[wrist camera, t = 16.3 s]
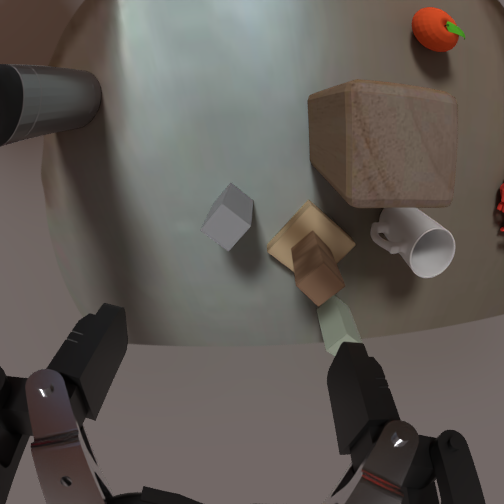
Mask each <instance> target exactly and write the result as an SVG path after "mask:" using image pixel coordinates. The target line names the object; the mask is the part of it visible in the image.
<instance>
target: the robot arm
mask: <svg viewBox="0 0 504 504" xmlns="http://www.w3.org/2000/svg"><path fill="white" fill-rule="evenodd" d="M100 101H101V88H100V85H99V82H98V80H97V79H96V77H95V76H94V75H93V74H92V73H90V72H87V71H82V70H75V69H68V68H59V67H48V66H35V65H10V64H9V65H8V64H7V65H6V64H0V146H4V145H7V144H11V143H14V142H18V141H22V140H25V139H29V138H34V137H38V136H42V135H46V134H51V133H56V132H60V131H66V130H71V129H76V128H80V127H82V126H84V125H86V124H87V123H89V122H90V121H91V120H92V118H93V117H94V116H95V114H96V112H97V110H98V108H99V105H100ZM127 344H128V336H127V327H126V316H125V309H124V308H123V307H119V306H115V305H111V304H107V303H104V304H103V305H102V306H101V308H100V309H99V310H98V312H97V313H96V315H94V314H88V315H87V316H85V317H84V318H82V319H81V320H79V321H78V323H77V324H76V326H75V327H74V328H73V330H72V332H71V333H70V334H69V336H68V337H67V340H65V341H64V343H63V344H62V346H61V347H60V349H59V351H58V352H57V353H56V355H55V356H54V358H53V359H52V361H51V363H50V364H49V366H48V367H47V368H46V369H41V370H38V371H36V372H34V373H32V374H31V375H30V376H29V378H19V377H11V376H6V374H5V372H4V370H3V369H2V368H1V367H0V504H5V503H6V500H7V497H8V494H9V491H10V488H11V485H12V482H13V479H14V476H15V473H16V470H17V468H18V465H19V462H20V459H21V457H22V454H23V451H24V449H25V447H26V444H27V442H28V439H29V437H30V436H34V442H33V443H31V452H32V457H33V460H34V464H35V468H36V472H37V475H38V479H39V482H40V485H41V488H42V491H43V494H44V497H45V500H46V503H47V504H203V503H200V502H197V501H195V500H192V499H190V498H187V497H185V496H182V495H180V494H176V493H171V492H166V491H162V490H157V489H153V488H149V487H145V486H144V487H143V490H142V493H138V492H137V493H125V494H120V495H116V496H114V495H113V492H112V490H111V488H110V487H109V484H108V482H107V481H106V479H105V477H104V475H103V473H102V471H101V469H100V466H99V464H98V462H97V459H96V457H95V454H94V452H93V449H92V447H91V444H90V441H89V438H88V436H87V433H86V430H85V427H84V425H83V422H84V420H85V418H89V419H92V420H96V418H97V416H98V413H99V411H100V409H101V406H102V404H103V402H104V399H105V397H106V395H107V393H108V390H109V388H110V386H111V383H112V381H113V379H114V377H115V374H116V372H117V370H118V368H119V366H120V364H121V362H122V359H123V357H124V355H125V353H126V350H127ZM327 385H328V391H329V396H330V401H331V407H332V412H333V418H334V423H335V429H336V435H337V441H338V447H339V452H340V455H345V454H351V460H352V462H351V464H350V465H349V467H348V468H347V470H346V471H345V473H344V475H343V476H342V477H341V479H340V480H339V482H338V483H337V485H336V486H335V488H334V489H333V490H332V492H331V493H330V495H329V496H328V497H327V499H326V500H325V501H324V502H323V503H322V504H439V500H438V496H437V490H436V486H435V482H434V481H435V480H436V479H437V483H438V487H439V492H440V496H441V504H485V500H484V496H483V492H482V489H481V485H480V482H479V478H478V475H477V472H476V469H475V466H474V462H473V459H472V456H471V453H470V450H469V447H468V444H467V442H466V440H465V438H464V437H463V436H462V435H461V434H460V433H459V432H457V431H454V430H446V431H444V432H442V433H441V435H439V437H437V438H434V437H428V436H423V435H418V433H417V431H416V430H415V428H414V427H413V426H412V425H411V424H409V423H407V422H405V421H401V420H400V417H399V414H398V412H397V409H396V406H395V403H394V400H393V397H392V394H391V391H390V389H389V388H388V383H387V380H385V375H384V373H383V370H382V367H381V366H380V364H379V363H378V362H377V361H376V360H375V359H374V357H368V354H367V351H366V349H365V346H364V344H363V343H356V342H342V343H341V345H340V347H339V349H338V351H337V354H336V356H335V358H334V360H333V362H332V364H331V366H330V368H329V371H328V376H327Z"/></svg>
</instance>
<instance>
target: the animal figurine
mask: <svg viewBox="0 0 504 504" xmlns="http://www.w3.org/2000/svg"><path fill="white" fill-rule="evenodd" d="M500 193H501V202H500V203H499V204H498V207H497V209H498V210H500V211H502V212H503V213H504V183H503V184H502V185H501V187H500ZM500 230H501V231H504V227H502V228H501V229H500Z"/></svg>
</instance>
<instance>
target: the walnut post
mask: <svg viewBox="0 0 504 504" xmlns="http://www.w3.org/2000/svg"><path fill="white" fill-rule="evenodd" d="M291 252H292V259H293V267H294V274H295V282H296V286H297V287H298V288H299V289H300V290H301V291H302V292H303V293H304V294H306V295H307V296H308V297H309V298H310V299H311V300H312V301H313V302H314V303H315V304H316V305H317V306H318V307H319V306H320V305H321V304H323V303H324V302H325V301H327V300H328V299H329V298H331V297H332V296H333V295H335V294H336V293H337V292H338V291H340V290H341V289H342V288H344V287H345V284H344V281H343V278H342V276H341V273H340V271H339V269H338V266H337V264H336V261H335V259H334V256H333V254H332V252H331V249H330V248H329V247H328V246H327V245H326V244H325V243H324V242H323V241H322V240H321V239H320V237H319V236H318V235H317V234H316V233H315V232H314V231H313V230H312V231H311V232H310V233H309V234H307V235H306V236H305V237H304V238H303V239H302V240H300V241H299V242H298V243H297V244H296V245H295V246H293V247H292V248H291Z"/></svg>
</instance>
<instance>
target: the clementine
mask: <svg viewBox="0 0 504 504" xmlns="http://www.w3.org/2000/svg"><path fill="white" fill-rule="evenodd" d="M412 30H413V33H414V35H415V37H416V38H417V40H418V41H419V42H420V43H421V44H422V45H423V46H424V47H426V48H428V49H430V50H432V51H436V52H446V51H448V50H450V49H452V48H453V47H454V46H455V45H456V44H457V41H458V38H459V35H460V36H462V37H464V39H465V34H464V33H463V31H462V30H461V29H460V28H459V27H457V25H456V23H455V22H454V20H453V19H452V18H451V17H450V16H449V15H448V14H447V13H446V12H444V11H442V10H440V9H437V8H433V7H427V8H423V9H420V10H419V11H418V12H417V13H416V14H415V15H414V17H413V20H412Z"/></svg>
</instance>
